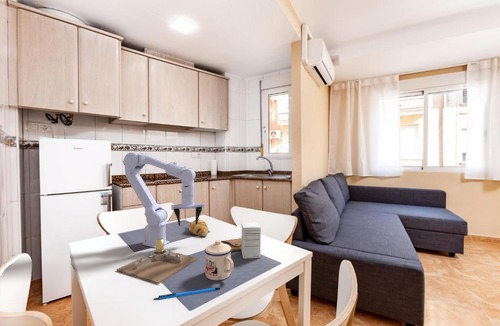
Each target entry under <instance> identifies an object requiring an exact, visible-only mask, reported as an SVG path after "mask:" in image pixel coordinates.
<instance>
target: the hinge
mask: <svg viewBox="0 0 500 326" xmlns="http://www.w3.org/2000/svg"><path fill="white" fill-rule="evenodd" d="M169 251H170V250H168V249H166V248H164V253H163V254H156V249H155V250H152V251H151V252H150V254H151V256H148V257H147V258H145V259H143V260H139V261H138V262H136V263H135V269H138V268H140V267H142V266H144V265H146V264H148V263H150V262H152V261H160V260H164V259H167V260H171V261H174V262H178V263H181V262H182V257H181V256H179V255H173V254H171V253H169Z"/></svg>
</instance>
